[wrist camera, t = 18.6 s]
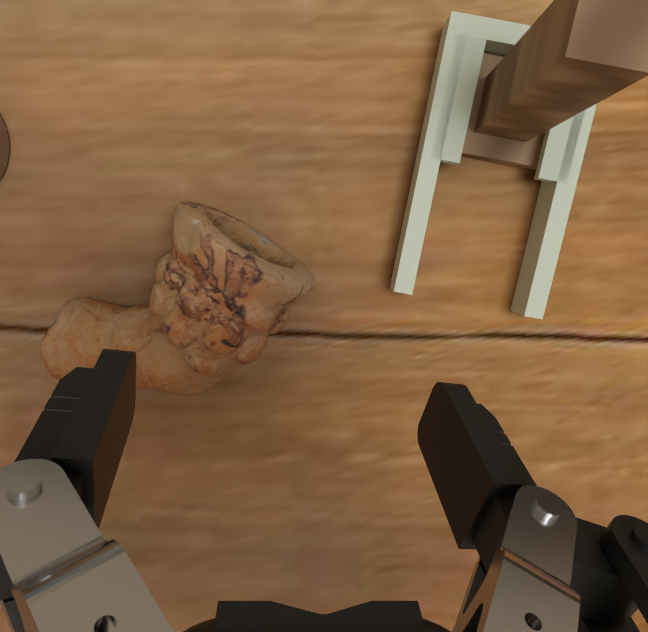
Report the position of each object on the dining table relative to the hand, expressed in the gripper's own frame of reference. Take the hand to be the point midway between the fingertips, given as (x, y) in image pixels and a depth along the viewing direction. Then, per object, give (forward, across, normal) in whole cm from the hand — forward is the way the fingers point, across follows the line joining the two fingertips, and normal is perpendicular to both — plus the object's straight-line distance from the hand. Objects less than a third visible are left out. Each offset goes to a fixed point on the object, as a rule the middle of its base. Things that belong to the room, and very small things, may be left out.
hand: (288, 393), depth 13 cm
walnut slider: (+28, -17, -6) cm, 34 cm away
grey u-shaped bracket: (+27, -17, -2) cm, 32 cm away
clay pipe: (+26, +4, +12) cm, 29 cm away
